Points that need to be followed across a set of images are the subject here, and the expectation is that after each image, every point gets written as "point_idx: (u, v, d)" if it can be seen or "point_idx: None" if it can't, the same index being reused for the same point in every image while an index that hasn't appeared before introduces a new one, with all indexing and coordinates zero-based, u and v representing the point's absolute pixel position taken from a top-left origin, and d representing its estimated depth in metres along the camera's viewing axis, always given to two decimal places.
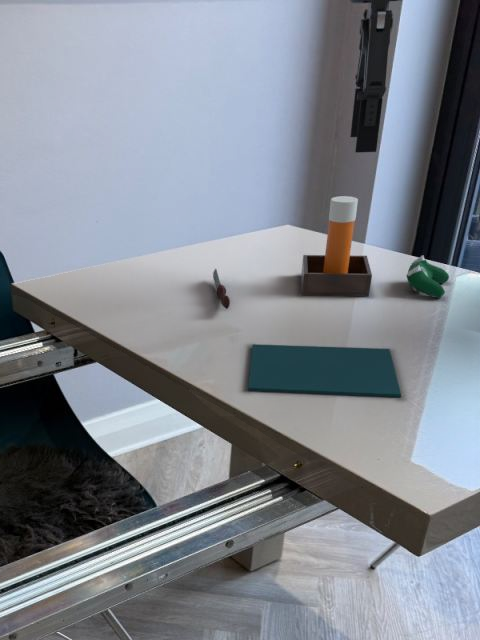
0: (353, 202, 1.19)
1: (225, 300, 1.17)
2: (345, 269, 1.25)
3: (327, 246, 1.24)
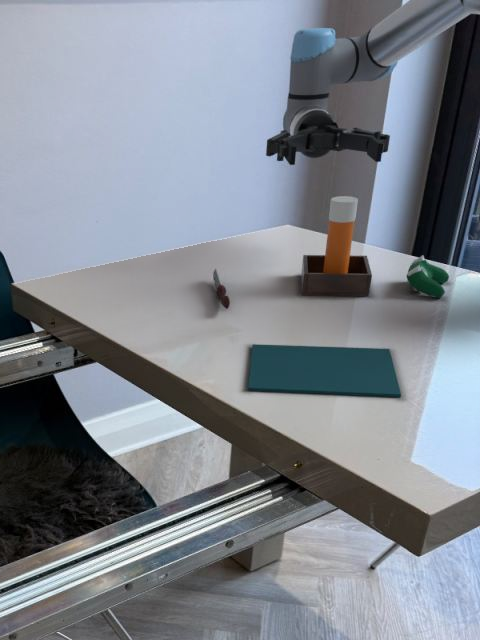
0: (353, 202, 1.19)
1: (225, 300, 1.17)
2: (345, 269, 1.25)
3: (327, 246, 1.24)
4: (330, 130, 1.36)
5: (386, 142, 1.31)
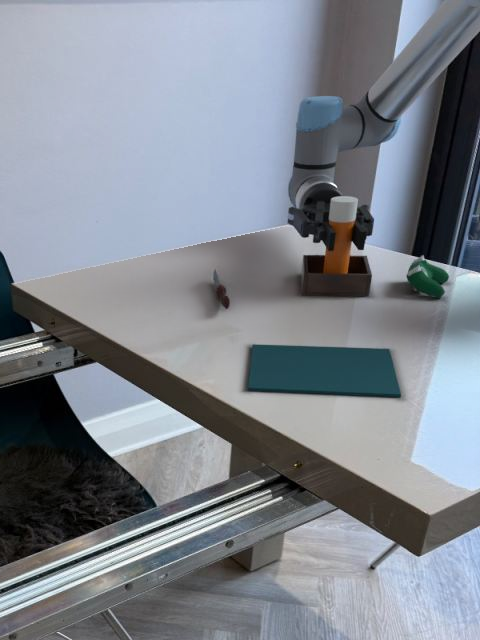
0: (353, 202, 1.19)
1: (225, 300, 1.17)
2: (345, 269, 1.25)
3: None
4: None
5: (368, 226, 1.24)
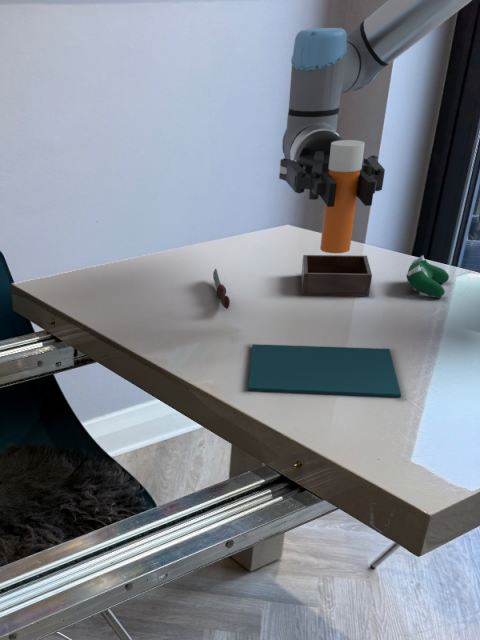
0: (359, 146, 0.95)
1: (225, 300, 1.17)
2: (348, 231, 1.01)
3: None
4: None
5: (377, 178, 1.01)
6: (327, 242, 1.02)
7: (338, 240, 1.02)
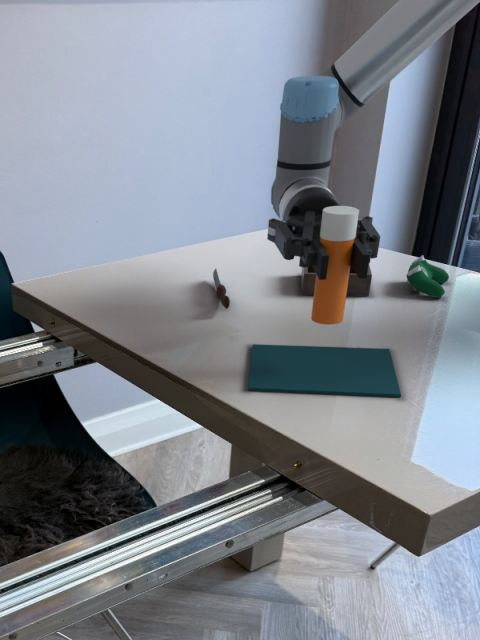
0: (352, 214, 0.88)
1: (225, 300, 1.17)
2: (341, 302, 0.94)
3: None
4: None
5: (372, 245, 0.94)
6: (318, 313, 0.95)
7: (331, 311, 0.95)
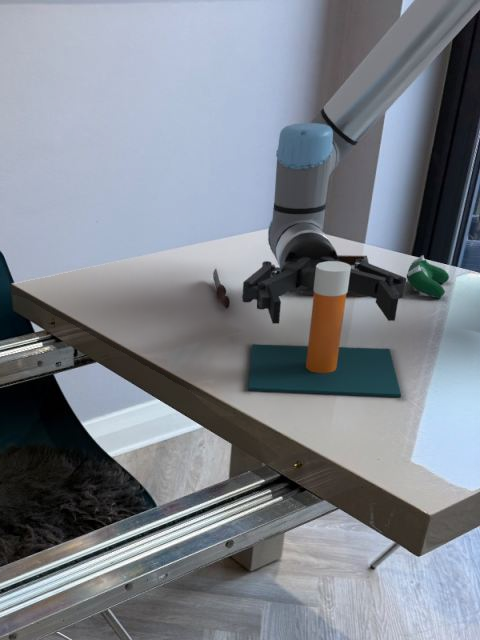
0: (344, 271, 0.92)
1: (225, 300, 1.17)
2: (335, 352, 0.98)
3: (312, 324, 0.97)
4: None
5: (401, 287, 0.98)
6: (313, 362, 0.99)
7: (324, 360, 0.98)
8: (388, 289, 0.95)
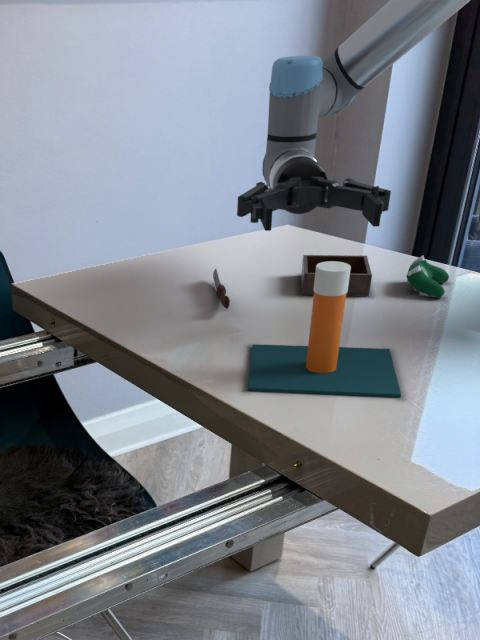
0: (344, 271, 0.92)
1: (225, 300, 1.17)
2: (335, 352, 0.98)
3: (312, 324, 0.97)
4: (317, 182, 1.10)
5: (386, 199, 1.05)
6: (313, 362, 0.99)
7: (324, 360, 0.98)
8: (373, 198, 1.01)
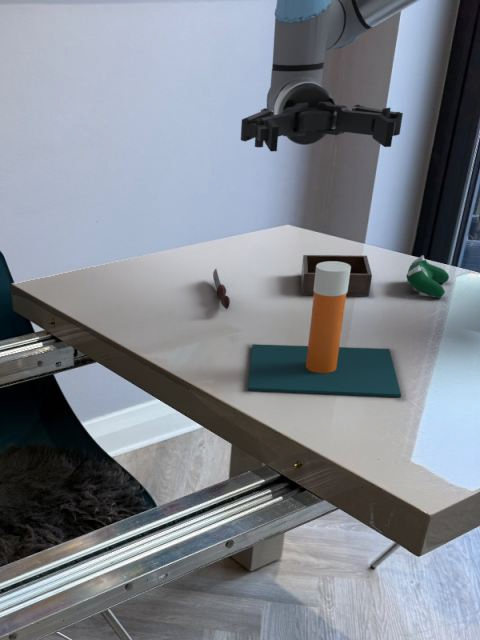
0: (344, 271, 0.92)
1: (225, 300, 1.17)
2: (335, 352, 0.98)
3: (312, 324, 0.97)
4: (324, 108, 1.05)
5: (398, 122, 0.99)
6: (313, 362, 0.99)
7: (324, 360, 0.98)
8: (384, 118, 0.96)
